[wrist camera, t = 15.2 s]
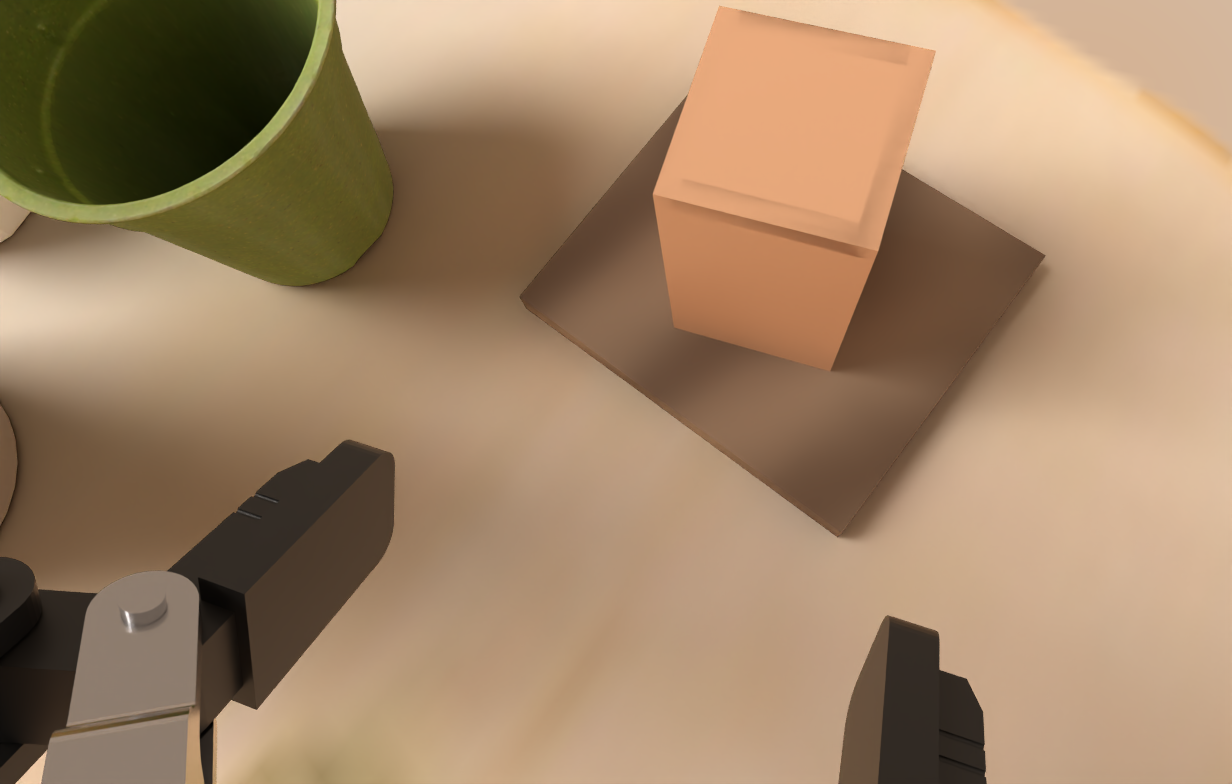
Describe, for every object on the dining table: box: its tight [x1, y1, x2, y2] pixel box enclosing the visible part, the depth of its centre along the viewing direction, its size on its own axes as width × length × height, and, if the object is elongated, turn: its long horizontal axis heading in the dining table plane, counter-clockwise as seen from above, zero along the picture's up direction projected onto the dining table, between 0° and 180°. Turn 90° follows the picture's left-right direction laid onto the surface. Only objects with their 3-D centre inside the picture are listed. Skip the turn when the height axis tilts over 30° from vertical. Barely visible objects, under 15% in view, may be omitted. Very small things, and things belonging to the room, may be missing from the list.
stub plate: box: [519, 95, 1045, 537], centre depth 30 cm, size 14×12×6 cm
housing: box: [653, 6, 936, 371], centre depth 27 cm, size 6×6×10 cm
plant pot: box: [0, 0, 393, 286], centre depth 31 cm, size 12×12×11 cm
